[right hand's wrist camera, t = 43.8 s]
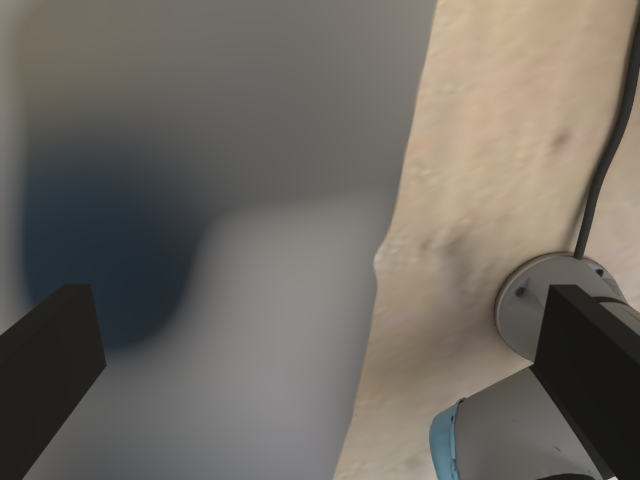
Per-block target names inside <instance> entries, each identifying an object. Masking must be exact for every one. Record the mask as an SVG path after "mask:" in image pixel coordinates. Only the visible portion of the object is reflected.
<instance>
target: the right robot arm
mask: <svg viewBox="0 0 640 480" xmlns="http://www.w3.org/2000/svg"><path fill="white" fill-rule="evenodd" d="M639 68H640V17H639V21H638V25H637V30H636V34H635V38H634V43H633V47H632V52H631V57H630V63H629V69H628V75H627V81H626V87H625V93H624V98H623V103H622V107H621V111H620V114H619V118H618V121H617V124H616V127H615V130H614V133H613V135H612V138H611V140H610V143H609V145H608V147H607V149H606V152H605V154H604V156H603V158H602V160H601V163H600V165H599V167H598V170H597V172H596V175H595V177H594V180H593V183H592V186H591V189H590V192H589V196H588V200H587V204H586V208H585V213H584V217H583V221H582V225H581V229H580V233H579V237H578V241H577V244H576V248H575V252H574V253H570V252H557V253H550V254H546V255H542V256H539V257H537V258H534V259H532V260H530V261H528V262H527V263H525V264H523V265H522V266H520V267H519V268H518V269H517V270H515V271H514V272H513V273H512V274H511V275H510V276H509V277H508V279H507V280H506V281H505V282H504V284H503V285H502V287H501V289H500V291H499V293H498V295H497V298H496V302H495V307H494V319H495V324H496V327H497V329H498V331H499V333H500V335H501V336H502V338H503V339H504V341H505V342H506V343H507V344H508V346H509V347H510V348H512V349H513V350H514V351H515V352H516V353H517V354H519V355H520V356H522V357H524V358H526V359H528V360H530V361H532V362H533V363H534V364H533V365H531V366H529V367H526V368H525V369H523V370H521V371H519V372H517V373H515V374H513V375H511V376H509V377H507V378H505V379H503V380H501V381H499V382H497V383H495V384H493V385H491V386H489V387H488V388H486V389H484V390H482V391H480V392H478V393H476V394H474V395H472V396H470V397H468V398H462V399H460V400H458V401H457V402H456V404H455V405H453V406H451V407H450V408H448V409H446V410H444V411H443V412H441V413H439V414H438V415H437V416H436V417H435V418H434V419H433V422H432V425H431V427H430V431H429V442H430V450H431V455H432V460H433V464H434V467H435V471H436V474H437V477H438V480H608V479H610V478H612V477H615V476H616V478H617V479H618V480H640V313H639V312H638V311H636V310H635V309H633V308H632V307H631V306H629V305H628V303H627V301H626V299H625V297H624V296H623V294H622V292H621V290H620V288H619V286H618V285H617V283H616V281H615V280H614V278H613V277H612V276H611V275H610V274H609V272H608V271H607V270H606V269H605V268H603V267H602V266H601V265H599V264H598V263H596V262H595V261H593V260H592V259H590V258H588V257H586V256H583V254H584V250H585V247H586V243H587V239H588V236H589V232H590V228H591V224H592V220H593V216H594V212H595V207H596V203H597V199H598V196H599V192H600V189H601V186H602V183H603V180H604V178H605V175H606V173H607V170H608V168H609V166H610V164H611V161H612V159H613V157H614V155H615V153H616V151H617V148H618V146H619V144H620V141H621V139H622V137H623V134H624V131H625V129H626V126H627V123H628V120H629V116H630V113H631V109H632V105H633V101H634V96H635V92H636V86H637V80H638V74H639ZM105 367H106V361H105V355H104V350H103V345H102V340H101V335H100V330H99V325H98V320H97V315H96V310H95V305H94V300H93V295H92V290H91V285H90V284H64V285H62V286H61V287H60V288H59V289H57V290H56V291H55V292H54V293H53V294H51V295H50V296H49V297H48V298H46V299H45V300H44V301H43V302H41V303H40V304H39V305H38V306H36V307H35V308H34V309H33V310H31V311H30V312H29V313H28V314H26V315H25V316H24V317H23V318H22V319H20V320H19V321H18V322H17V323H15V324H14V325H13V326H12V327H10V328H9V329H8V330H7V331H5V332H4V333H3V334H2V335H1V336H0V480H22V479H23V478H24V476H25V475H26V473H27V472H28V471H29V469H30V468H31V467H32V465H33V464H34V463H35V461H36V460H37V459H38V457H39V456H40V455H41V453H42V452H43V451H44V449H45V448H46V446H47V445H48V444H49V442H50V441H51V440H52V438H53V437H54V436H55V434H56V433H57V432H58V430H59V429H60V428H61V426H62V425H63V423H64V422H65V421H66V420H67V418H68V417H69V415H70V414H71V413H72V411H73V410H74V409H75V407H76V406H77V405H78V403H79V402H80V401H81V399H82V398H83V396H84V395H85V394H86V393H87V391H88V390H89V388H90V387H91V386H92V384H93V383H94V382H95V380H96V379H97V378H98V376H99V375H100V374H101V372H102V371H103V370H104V368H105Z"/></svg>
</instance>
